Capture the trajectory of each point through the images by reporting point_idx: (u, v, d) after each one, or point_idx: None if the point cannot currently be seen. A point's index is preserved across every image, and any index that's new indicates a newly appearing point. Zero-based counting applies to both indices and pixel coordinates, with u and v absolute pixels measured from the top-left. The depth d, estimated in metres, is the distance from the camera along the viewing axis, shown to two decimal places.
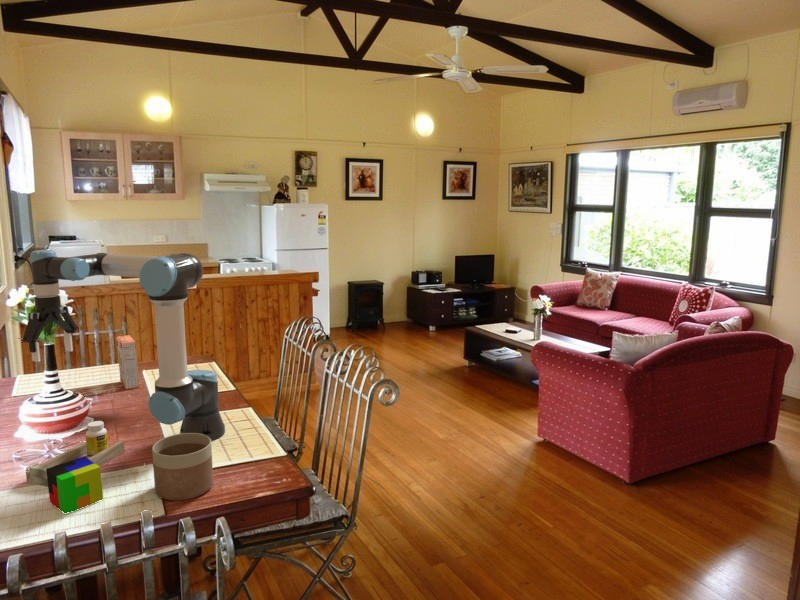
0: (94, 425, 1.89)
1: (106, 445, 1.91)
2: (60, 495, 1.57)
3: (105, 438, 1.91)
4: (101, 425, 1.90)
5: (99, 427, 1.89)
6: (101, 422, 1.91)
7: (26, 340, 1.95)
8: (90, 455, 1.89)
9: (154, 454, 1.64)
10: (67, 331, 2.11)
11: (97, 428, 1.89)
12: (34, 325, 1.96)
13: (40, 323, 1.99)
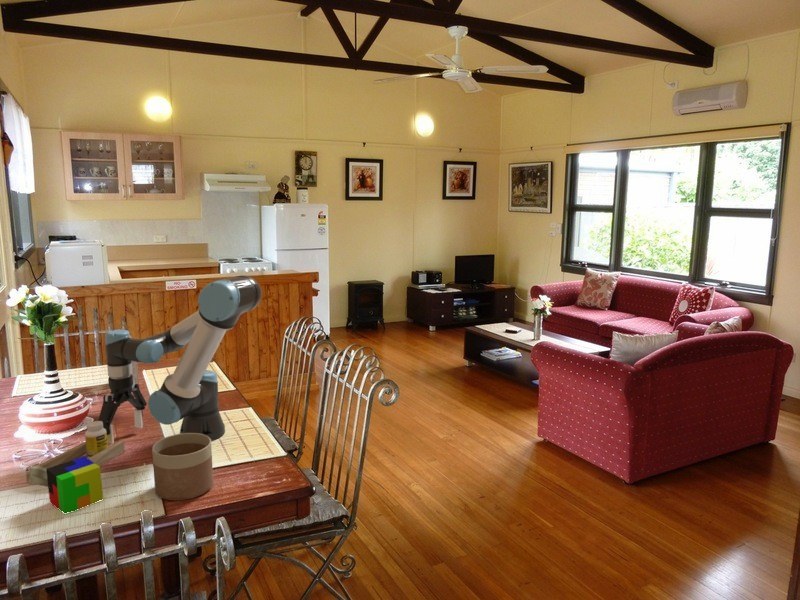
0: (94, 425, 1.89)
1: (106, 445, 1.91)
2: (60, 495, 1.57)
3: (104, 438, 1.91)
4: (101, 425, 1.90)
5: (99, 427, 1.89)
6: (100, 422, 1.91)
7: None
8: (90, 455, 1.89)
9: (154, 454, 1.64)
10: (137, 408, 2.09)
11: (97, 428, 1.89)
12: (109, 408, 1.94)
13: (114, 404, 1.98)
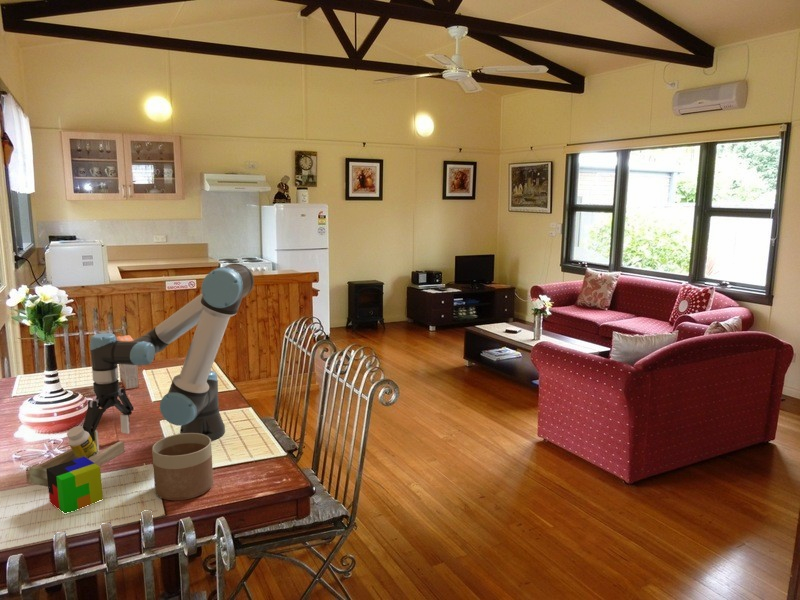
0: (74, 434, 1.82)
1: (93, 447, 1.87)
2: (60, 495, 1.57)
3: (89, 442, 1.85)
4: (81, 432, 1.83)
5: (80, 434, 1.83)
6: (80, 428, 1.84)
7: (86, 430, 1.87)
8: None
9: (154, 454, 1.64)
10: (124, 413, 2.04)
11: (78, 437, 1.82)
12: (94, 414, 1.89)
13: (99, 410, 1.92)
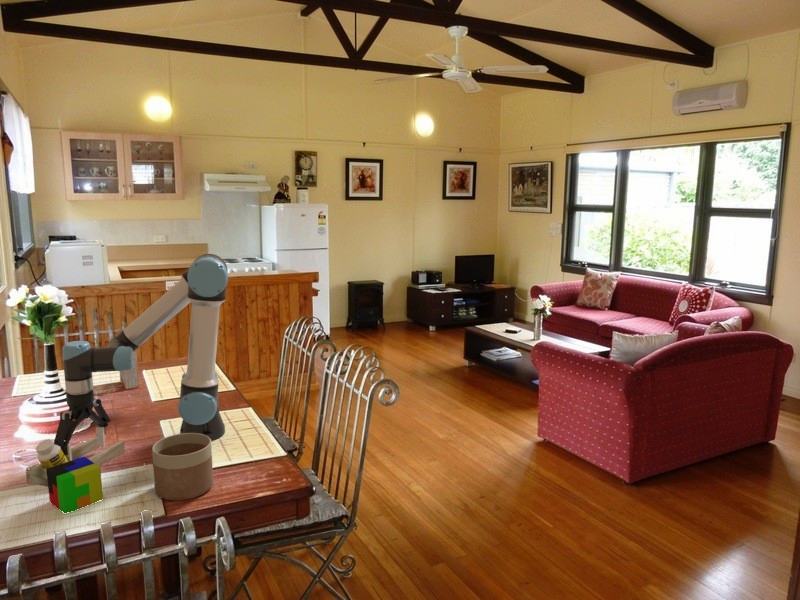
0: (43, 448, 1.72)
1: (64, 462, 1.77)
2: (60, 495, 1.57)
3: (60, 456, 1.75)
4: (51, 446, 1.73)
5: (49, 449, 1.72)
6: (50, 442, 1.74)
7: (58, 444, 1.77)
8: None
9: (154, 454, 1.64)
10: (99, 425, 1.93)
11: (47, 451, 1.72)
12: (66, 426, 1.78)
13: (72, 422, 1.82)
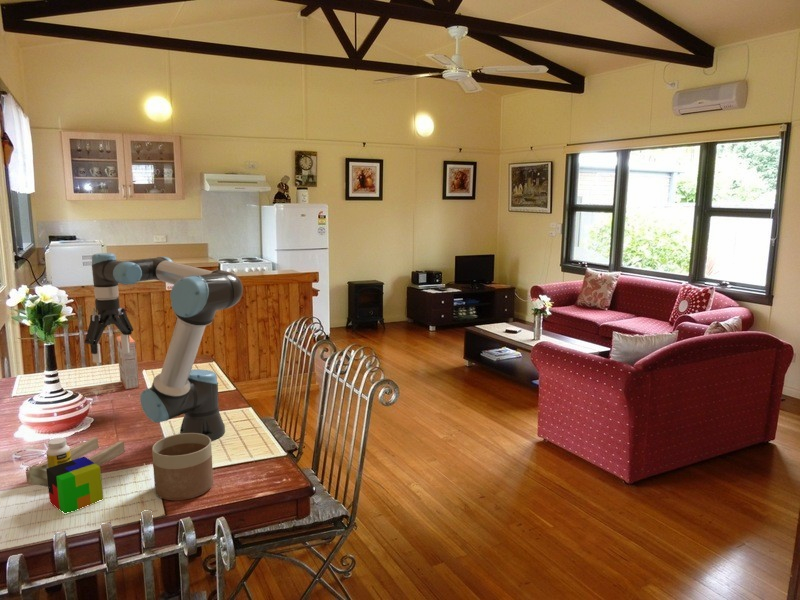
0: (55, 443, 1.75)
1: None
2: (60, 495, 1.57)
3: (67, 456, 1.77)
4: (62, 443, 1.76)
5: (60, 445, 1.76)
6: (63, 439, 1.78)
7: (88, 342, 1.98)
8: None
9: (154, 454, 1.64)
10: (124, 333, 2.14)
11: (58, 446, 1.75)
12: (96, 327, 2.00)
13: (101, 325, 2.03)
